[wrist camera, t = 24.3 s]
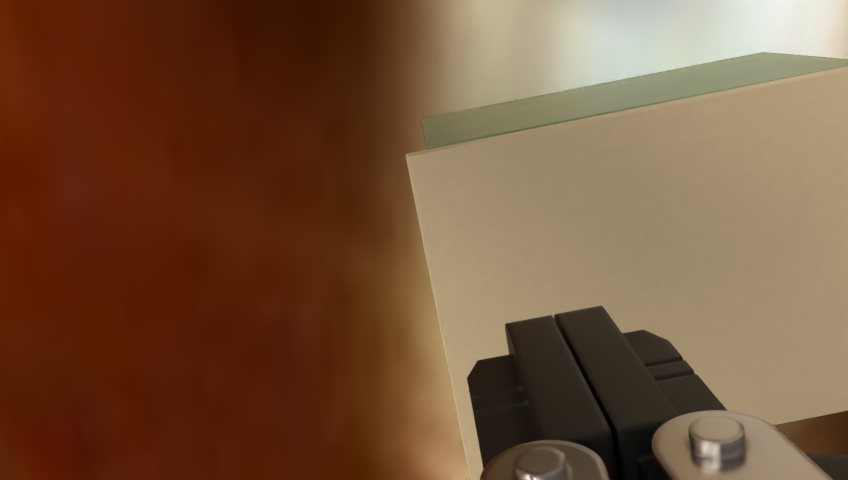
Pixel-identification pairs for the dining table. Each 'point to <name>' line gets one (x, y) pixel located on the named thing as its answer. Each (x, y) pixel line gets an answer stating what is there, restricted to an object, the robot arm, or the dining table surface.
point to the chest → (618, 96)
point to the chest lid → (658, 239)
